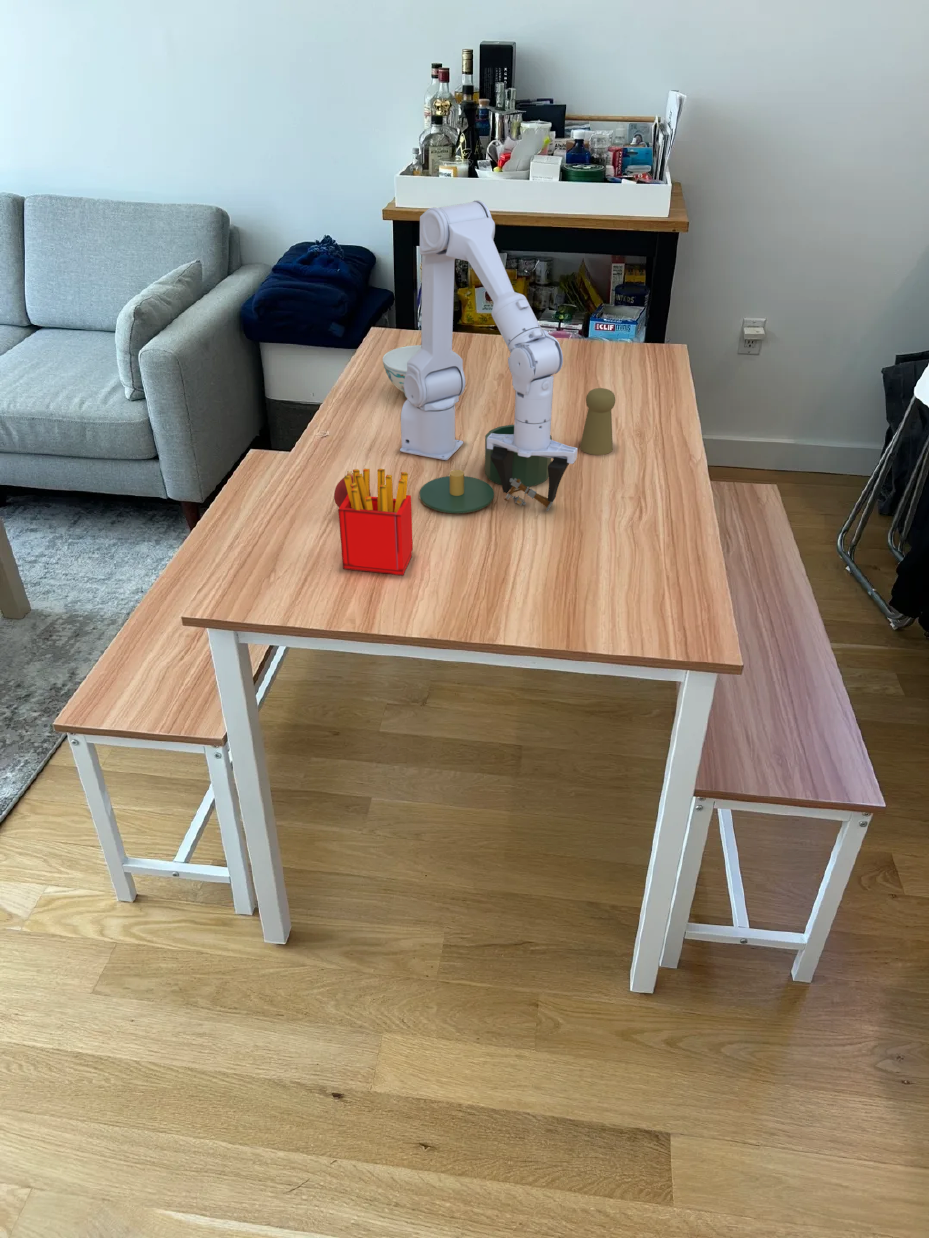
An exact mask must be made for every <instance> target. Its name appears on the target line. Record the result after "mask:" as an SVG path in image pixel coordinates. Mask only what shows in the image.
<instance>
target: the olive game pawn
mask: <svg viewBox="0 0 929 1238" xmlns="http://www.w3.org/2000/svg"><path fill="white" fill-rule="evenodd" d="M585 403H586V407H587V408H588V409H587V412H586V417H585V422H584V426H583V431H582V436H581V439H580V444H579V449H580V450H581V451H582V452H584V453H585V454H588V455H594V456H603V455H604V456H605V455H607V454H610V453H612V451H613V450H614V442H613V439H614V438H613V419H612V418H613V417H612V416H613V415H612V410H613V408H614V407H615V404H616V395H615V393H614V392H613V391H612V390H610V389H608V388H605V387H598V388H593V389H591V390H589V391H588V393H587V394H586V397H585Z"/></svg>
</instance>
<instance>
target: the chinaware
mask: <svg viewBox="0 0 929 1238" xmlns="http://www.w3.org/2000/svg"><path fill="white" fill-rule="evenodd" d="M420 349H421V344H414V345H406V346H400V347H397V348H394V349H391V350H389V351H387V352H386V353H385V354H383V356H382V365H383V368H384V370H385V374H386V375H387V378H388V379H389V381H390V382H391V384H392V385H393V386H394V387H395V388H397V389H398V390H399V391H400V392H401V393H404V397H405V398H406V399H407V397H406V394H405V391H404V379H405V375H406V373H407V362H408V361H409V360H410V359H411V358H412V357H413V356H414V355H415V354H416V353H417V352H418V351H419V350H420Z"/></svg>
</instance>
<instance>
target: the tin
mask: <svg viewBox="0 0 929 1238" xmlns="http://www.w3.org/2000/svg"><path fill="white" fill-rule="evenodd" d="M491 433H494V434H514V424H507V425H501V426H497V427H495V428H493V429H490V430H489V431H488V432H487V433H486V434H485V435H484V475H485V476H486V478H487V479H488V480H489V481H491V482H493V483H495V484H497V485H500V486H502V484H501V480H500V477H499V474H498V472H497V469H496V467H495V466H494V464H493V462H492V461H491V457H490V456H491V454H492V453H493V449H487V437H488V436H489V435H490V434H491ZM550 439H551V440H553V437H552V435H551V434H550ZM551 461H552V458H547V457H542V456H530V457H522V456H518V453H517V452H514V456H513V464H512V479H513V480H514V479H515V478H516V479H520V482H521V483H522V484H523V485H525V486H526V487H529V488H530V487H534V486H538V485H540V484H543V483H545V482H546V481H547V480H549V474H548V465H549V464H550V463H551ZM512 487H513V485H512V486H511V488H512Z"/></svg>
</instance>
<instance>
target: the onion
mask: <svg viewBox="0 0 929 1238" xmlns="http://www.w3.org/2000/svg"><path fill="white" fill-rule="evenodd" d="M346 475H350V476H351V479H352V483H353V471H351V470H347V473H346ZM333 493H334V494H333V499H334V503H335V505H336V506H337V508H338V509H339V508H340V506H341V504H342V503H343V501H344V499H345V498H346V496H347V494H348V492H347V488H346V484H345V480H344V477H342V478H341V479H340V481H339V482H337V484H336V486H335V489H334V492H333ZM370 496H372V493H371V492H370Z"/></svg>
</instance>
